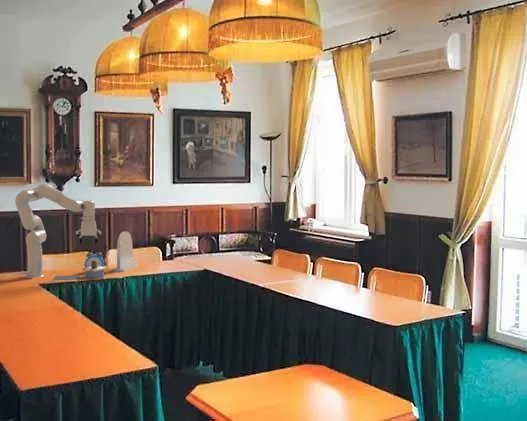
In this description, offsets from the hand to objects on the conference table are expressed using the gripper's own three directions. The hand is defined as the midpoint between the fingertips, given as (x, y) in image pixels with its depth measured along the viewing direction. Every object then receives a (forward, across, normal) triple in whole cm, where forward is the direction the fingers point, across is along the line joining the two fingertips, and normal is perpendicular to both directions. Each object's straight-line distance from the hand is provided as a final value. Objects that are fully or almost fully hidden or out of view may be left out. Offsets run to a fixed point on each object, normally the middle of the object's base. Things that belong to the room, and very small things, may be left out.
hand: (88, 243), depth 441 cm
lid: (+17, +4, -4) cm, 18 cm away
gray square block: (+23, +4, -4) cm, 24 cm away
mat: (+23, -14, -4) cm, 27 cm away
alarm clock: (+23, +3, +16) cm, 28 cm away
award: (+23, +24, +33) cm, 47 cm away
